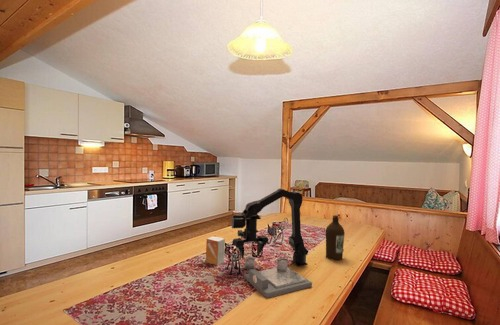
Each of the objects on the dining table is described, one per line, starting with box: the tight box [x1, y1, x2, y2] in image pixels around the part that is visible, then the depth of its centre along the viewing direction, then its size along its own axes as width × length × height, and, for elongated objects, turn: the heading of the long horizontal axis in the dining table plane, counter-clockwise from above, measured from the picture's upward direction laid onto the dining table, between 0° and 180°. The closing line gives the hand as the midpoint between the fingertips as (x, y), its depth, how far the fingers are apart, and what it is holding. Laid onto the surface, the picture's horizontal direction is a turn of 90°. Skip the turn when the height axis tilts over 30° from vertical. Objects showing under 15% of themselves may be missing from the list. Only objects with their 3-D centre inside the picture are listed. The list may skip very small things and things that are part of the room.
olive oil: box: [325, 214, 346, 261], centre depth 160 cm, size 11×11×25 cm
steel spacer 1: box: [244, 256, 256, 271], centre depth 141 cm, size 5×5×5 cm
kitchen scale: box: [244, 266, 313, 299], centre depth 125 cm, size 24×20×6 cm
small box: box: [205, 235, 226, 266], centre depth 147 cm, size 8×6×13 cm
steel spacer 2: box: [276, 257, 288, 272], centre depth 133 cm, size 5×5×5 cm
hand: (250, 257), depth 141 cm, fingers open, 9 cm apart
